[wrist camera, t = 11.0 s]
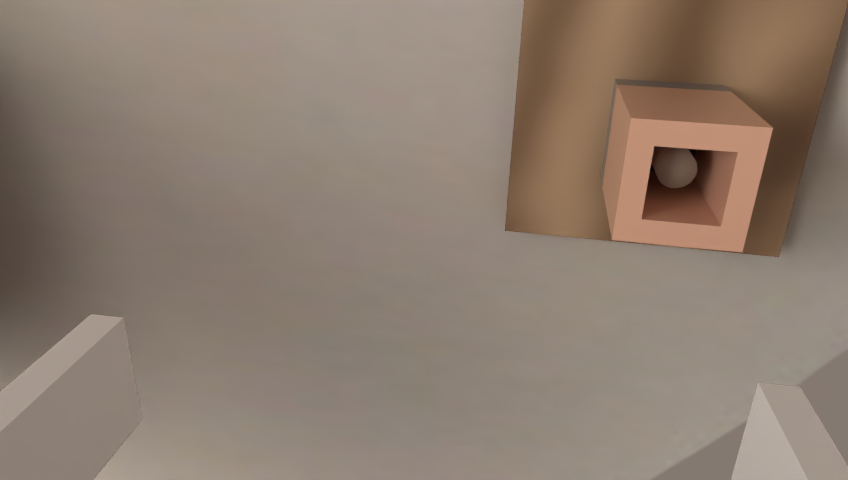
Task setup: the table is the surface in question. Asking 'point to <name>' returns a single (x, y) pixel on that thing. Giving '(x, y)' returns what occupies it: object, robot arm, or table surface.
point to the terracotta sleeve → (711, 148)
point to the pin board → (668, 62)
